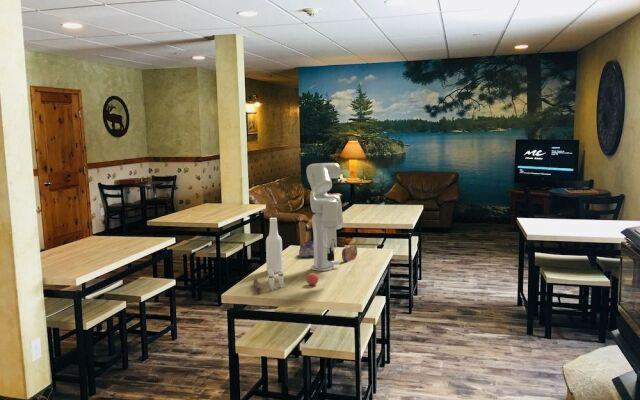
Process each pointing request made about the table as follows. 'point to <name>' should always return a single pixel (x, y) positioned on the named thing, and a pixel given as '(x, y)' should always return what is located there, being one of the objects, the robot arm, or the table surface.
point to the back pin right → (268, 276)
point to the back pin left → (271, 280)
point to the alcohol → (274, 248)
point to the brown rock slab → (349, 253)
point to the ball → (312, 279)
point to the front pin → (280, 278)
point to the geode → (307, 249)
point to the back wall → (257, 286)
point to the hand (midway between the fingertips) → (330, 260)
